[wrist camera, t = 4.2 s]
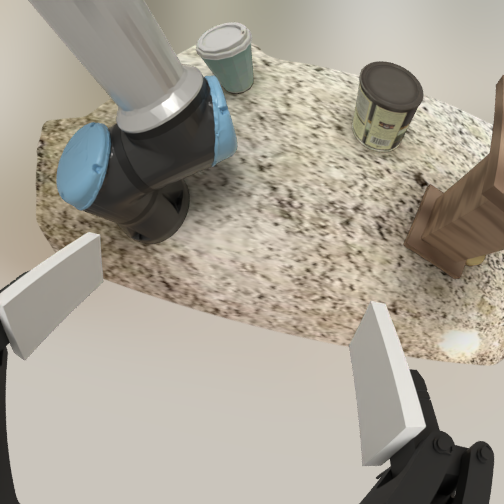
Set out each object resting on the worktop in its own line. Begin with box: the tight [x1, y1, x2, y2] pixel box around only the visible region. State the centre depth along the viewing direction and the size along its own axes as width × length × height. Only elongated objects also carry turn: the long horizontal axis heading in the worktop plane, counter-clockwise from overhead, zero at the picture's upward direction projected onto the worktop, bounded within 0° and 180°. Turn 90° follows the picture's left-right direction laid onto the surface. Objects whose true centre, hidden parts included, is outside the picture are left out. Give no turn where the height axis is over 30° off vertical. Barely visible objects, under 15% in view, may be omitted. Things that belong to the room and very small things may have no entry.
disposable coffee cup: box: [196, 23, 254, 93], centre depth 47 cm, size 11×11×15 cm
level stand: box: [403, 75, 504, 279], centre depth 27 cm, size 15×17×30 cm
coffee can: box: [352, 62, 423, 152], centre depth 40 cm, size 10×10×14 cm
